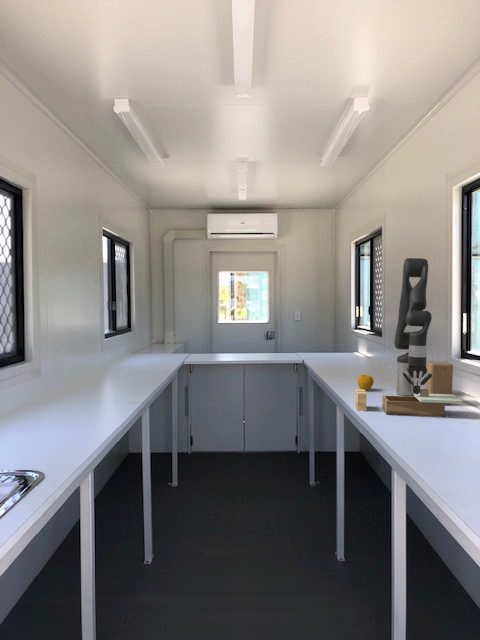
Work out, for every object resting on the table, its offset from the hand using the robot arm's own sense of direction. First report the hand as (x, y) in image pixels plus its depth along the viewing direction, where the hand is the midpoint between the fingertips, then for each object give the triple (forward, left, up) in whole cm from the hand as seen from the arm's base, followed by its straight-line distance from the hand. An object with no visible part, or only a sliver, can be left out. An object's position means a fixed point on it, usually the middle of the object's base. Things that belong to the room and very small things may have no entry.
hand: (416, 393), depth 200 cm
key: (-4, -24, -9) cm, 25 cm away
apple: (-47, -17, -9) cm, 50 cm away
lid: (0, +9, -2) cm, 9 cm away
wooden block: (-22, +15, -9) cm, 28 cm away
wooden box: (0, -2, -9) cm, 9 cm away
